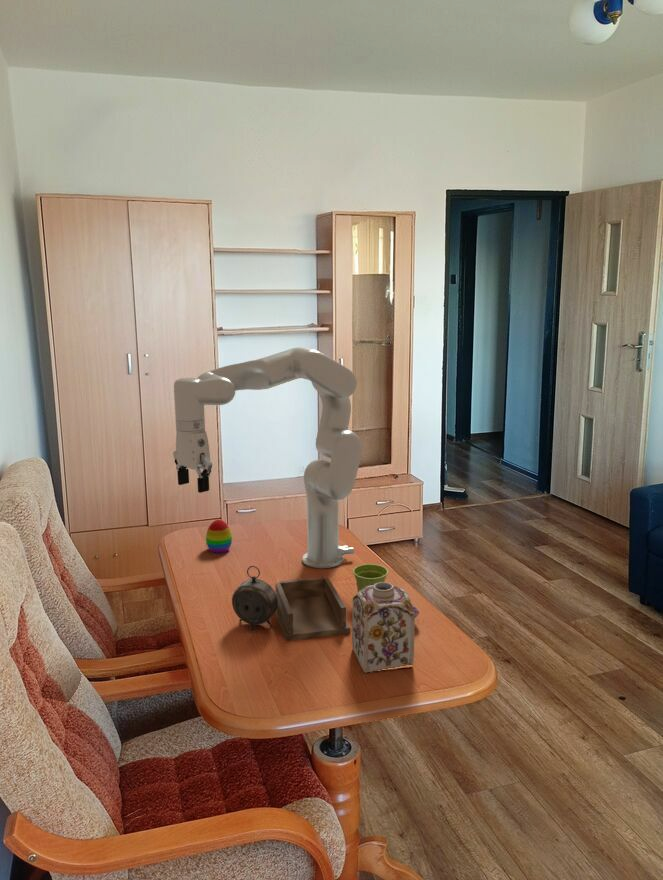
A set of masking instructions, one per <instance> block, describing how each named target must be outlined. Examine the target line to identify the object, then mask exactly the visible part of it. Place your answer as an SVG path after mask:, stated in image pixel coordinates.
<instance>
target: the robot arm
mask: <svg viewBox="0 0 663 880" xmlns="http://www.w3.org/2000/svg"><path fill="white" fill-rule="evenodd" d="M298 379H304V380H308V381H310V382H311V384H312V387H313V388H314V390H315V391H317V393H318V395H319V397H320V400H321V404H322V407H321V416H320V420H319V424H318V425H319V426H318V429H317V434H316V438H315V449H316V451H318V453H319V454H321V455H322V456H324V457H327V458H329V459H330V461H329V460H324V459H315V460H313V461H311V462H310V463H309V464H307V466H305V469H304V474H303V483H304V490H305V495H306V524H307V525H306V531H307V533H306V534H307V535H306V536H307V540H306V541H307V542H306V543H307V544H306V545H307V546H306V547H307V552H305V553H304V554H303V555H302V560H301V561H302V562H303V564H305V565H306V566H308V567H311V568H314V569H331V567H332V568H336V567H338V566H340V565H341V564H343V562H344V556H345V555H353V554H355V550H354V547H348V545H343V546H341V545H340V544H339V514H340V513H339V512H340V511H339V501H341V500H344V499H346V498H348V496H349V495H350V494H351V493H352V492H353V490H354V487H355V484H356V483H355V482H356V479H357V475H358V471H359V466H360V462H361V457H362V452H363V451H362V449H363V448H362V441H361V439H360V437H359V435H357V433H355V432H354V431H352V430H349V424H350V420H351V419H350V418H351V412H352V406H351V405H352V404H351V399H350V397H351V396H352V395H353V394H354V393H355V391H356V389H357V386H358V385H357V384H358V383H357V382H358V381H357V376H356V375H355V373H354V372H353V371H352V369H351V370H350V369H349V367H346V366H344V365H343V364H341V363H340V362H338V361H336V360H334V359H333V358H331V357H329V356H328V355H326V354H325V353H323V352H320V351H319V350H317V349H312V348H307V347H299V346H297V347H293V348H290V349H287V350H283V351H280V352H278V353H274V354H271V355H268V356H265V357H261V358H258V359H254V360H253V359H252V360H248V361H244V362H240V363H234V364H229V365H225V366H222V367H221V366H220V367H218V368H215V369H212V370H208V371H205V372H203V373H201V374H200V375H199V376H198V377H183V378H178V379H176V380H175V381H174V382H173V394H174V395H173V397H174V414H175V417H174V418H175V431H176V436H175V450H174V451H172V455H173V459H174V464H175V469H176V472H177V473H176V474H177V485H179V486H182V485H186V484H189V483H190V473H189V472H190V471H189V470H193V471H194V470H195V471H196V474H197V476H198V477H197V478H196V480H197V493H201V494H202V493H206V492H208V491H210V477H211V473H212V468H213V462H212V461H211V453H210V452H211V451H210V445H209V444H210V443H209V438H208V435H207V432H206V423H205V422H206V419H205V417H206V415H205V406H223V405H228V404H229V403H230V402H232V400H234V398H235V396H236V391H245V390H252V391H253V390H255V391H261V390H262V391H263V390H269V389H271V388H274V387H277V386H280V385H283V384H286V383H290V382H291V381H295V380H298Z"/></svg>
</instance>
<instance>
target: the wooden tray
mask: <svg viewBox="0 0 663 880" xmlns="http://www.w3.org/2000/svg"><path fill="white" fill-rule="evenodd" d="M275 593H276V596H277V600H278V605H277V609H276V611H275V613H274V614H275V616H276V618H277V621H278V624H279V627H280V629H281V632H282V634H283V637H284V639H285V642H290V641H298V640H307V639H315V638H322V637H330V636H338V635H339V634H340V635H346V633H348V634H351V626H350V624H349V623H348V621H347V607H346V605H345V603H344V602H343V600H342V598H341V597H340V595H339V593H338V591H337V589H336V588H335V586H334V585H333V582H332V581H331V579H330V578H329V577H325V576H319V577H318V576H317V577H310V578H309V577H307V578H299V579H290V580H280V581H278V582H276V583H275Z"/></svg>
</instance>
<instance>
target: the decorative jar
mask: <svg viewBox="0 0 663 880" xmlns="http://www.w3.org/2000/svg"><path fill="white" fill-rule="evenodd" d="M412 605H413V604H412V601H411V598H410V595H409V594H408V592H407V591H406V590H405V589H404V588H400V587H398V586H395V585H393V584H392V583H391V582H387V581H385V582H379V583H376V584H374V585H370V586H367V587H365V588H363V589H362V590H360V591H359V592H358V591H357V593H356V594H355V595H354V596H353V597H352V617H351V618H352V620H351V622H352V624H351V625H352V626H351V629H352V631H351V641H352V643H351V645H352V650H353V652H354V654H355V657H356V660H357V661H358V663H359V665H360V668H361V669H362V671H363V673H364V672H365V674H368V673H367V672H370V673H374V672H373V671H378V670H382V669H388V668H395V667H400V666H406V665H413V666H414V665H415V664H414V661H415V623H416V622H415V619H416V618H415V613H414V610H413V606H414V605H413V606H412Z"/></svg>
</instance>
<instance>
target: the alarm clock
mask: <svg viewBox="0 0 663 880" xmlns="http://www.w3.org/2000/svg"><path fill="white" fill-rule="evenodd" d="M250 568H255V569H256V570H257V571H258V575H257V576H255V575H253V576H251V575H250V574H249V570H250ZM246 574H247V576H248V577H249V578H248V579H246V580H244V581H243V582H241V584H240V585H239V586H238V587H237V588H236V589H235V590H234V592H233V594H232V597H231V604H232V605H231V606H232V608H233V611H234V613H235V615H236V616H237V617H238V618H239V622H240V623H241V622H242V621H243V622H244V623H245V624H249V628H248V629H249V631H252V630H253V626H259V625H263V624H265V623H267V624H268V625H269V627H270V628H273V625H272V622H271V621H270V619H271V617H272V616H273V615H275V614H276V613H275V611H276V609H277V605H278V600H277V596H276V590H274V588H273V587H272V586H271V584H268V583H267V582H266V581H264V580H261V579H259V576H260V575H261V572H260V569H259V568H258V567H257V566H255V565H250V566H248V568H247V570H246Z"/></svg>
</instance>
